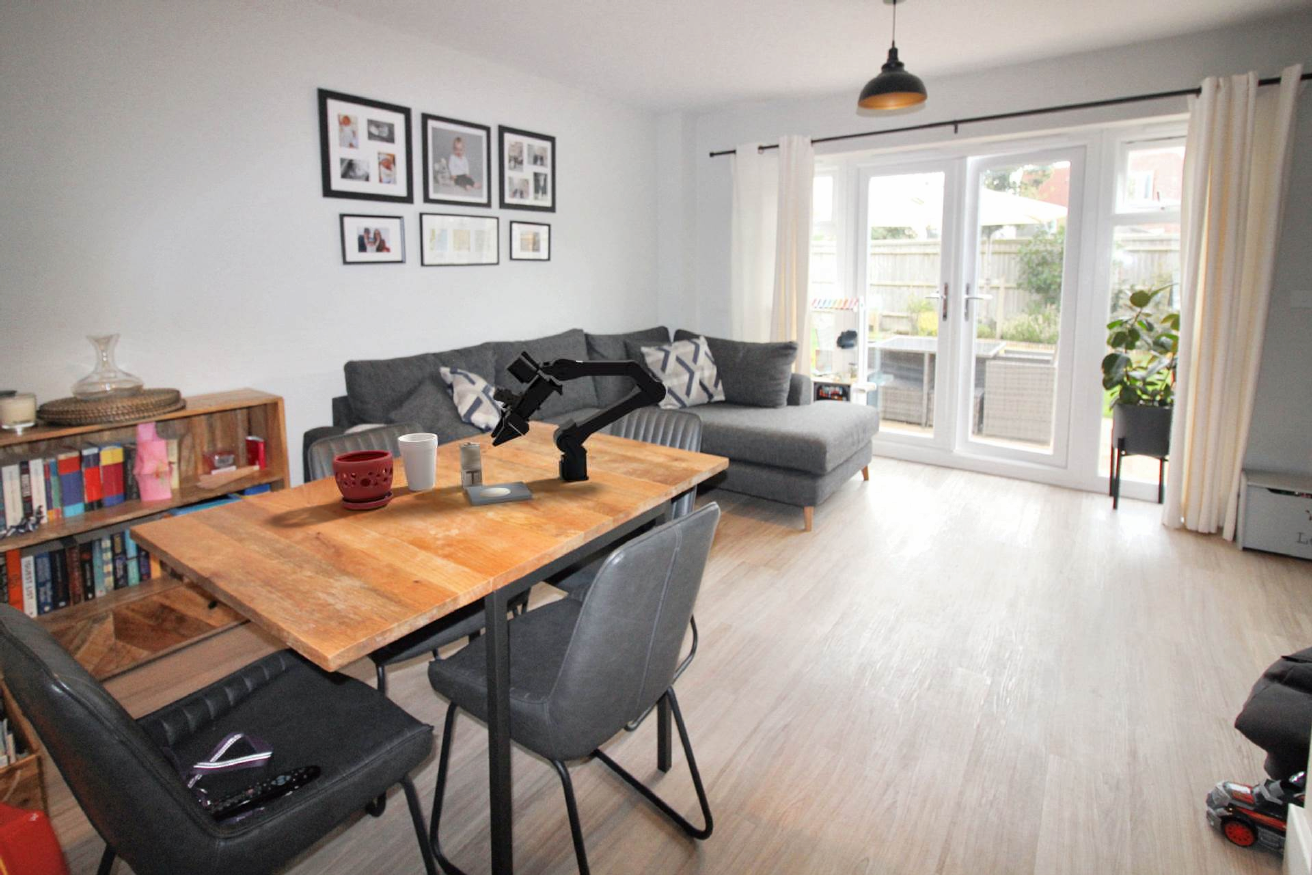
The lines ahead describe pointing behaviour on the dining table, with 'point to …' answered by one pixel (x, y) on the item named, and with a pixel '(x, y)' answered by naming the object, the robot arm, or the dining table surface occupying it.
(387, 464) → the plant pot
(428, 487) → the foam cup
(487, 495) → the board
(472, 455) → the letter block
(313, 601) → the dining table surface
